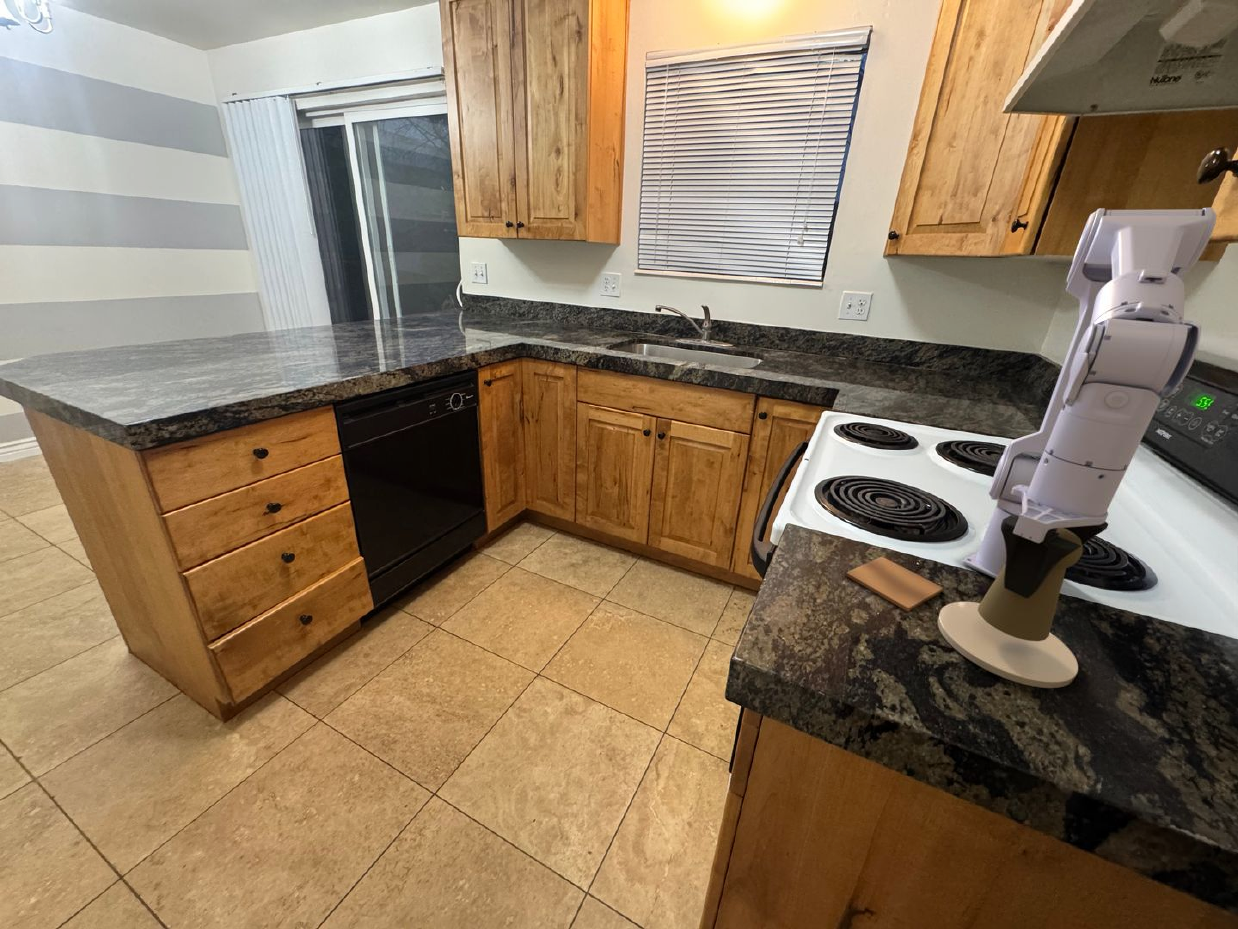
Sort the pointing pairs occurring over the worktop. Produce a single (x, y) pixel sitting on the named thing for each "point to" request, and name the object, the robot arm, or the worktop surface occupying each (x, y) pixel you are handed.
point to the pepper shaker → (1028, 601)
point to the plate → (1006, 649)
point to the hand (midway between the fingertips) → (1028, 583)
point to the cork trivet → (894, 583)
